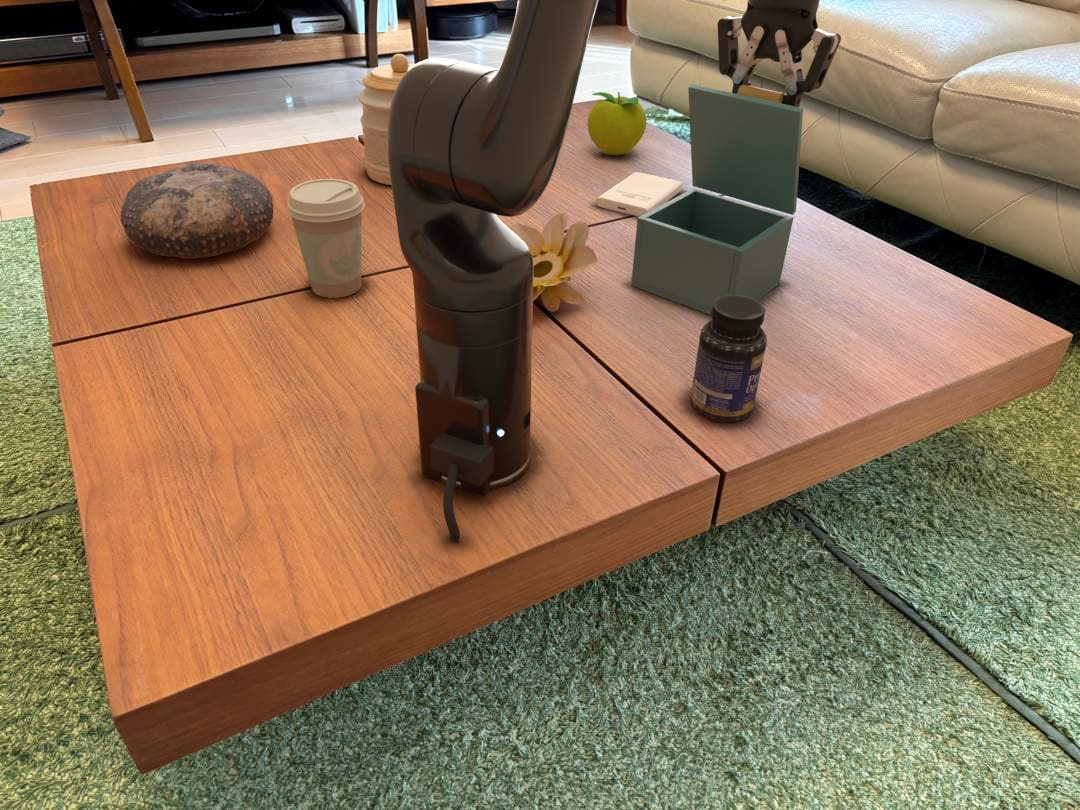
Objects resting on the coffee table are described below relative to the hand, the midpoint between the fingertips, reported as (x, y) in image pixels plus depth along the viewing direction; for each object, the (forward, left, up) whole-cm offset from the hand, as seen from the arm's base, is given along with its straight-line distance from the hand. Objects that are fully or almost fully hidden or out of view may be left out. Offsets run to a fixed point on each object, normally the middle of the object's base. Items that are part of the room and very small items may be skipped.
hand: (761, 120), depth 97 cm
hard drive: (+14, +19, -18) cm, 30 cm away
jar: (+6, +55, -18) cm, 58 cm away
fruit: (+31, +30, -18) cm, 47 cm away
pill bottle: (-32, -7, -18) cm, 37 cm away
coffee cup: (-30, +41, -18) cm, 54 cm away
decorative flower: (-20, +20, -19) cm, 33 cm away
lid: (-4, +1, -3) cm, 5 cm away
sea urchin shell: (-27, +65, -18) cm, 72 cm away
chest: (-8, +2, -18) cm, 20 cm away
